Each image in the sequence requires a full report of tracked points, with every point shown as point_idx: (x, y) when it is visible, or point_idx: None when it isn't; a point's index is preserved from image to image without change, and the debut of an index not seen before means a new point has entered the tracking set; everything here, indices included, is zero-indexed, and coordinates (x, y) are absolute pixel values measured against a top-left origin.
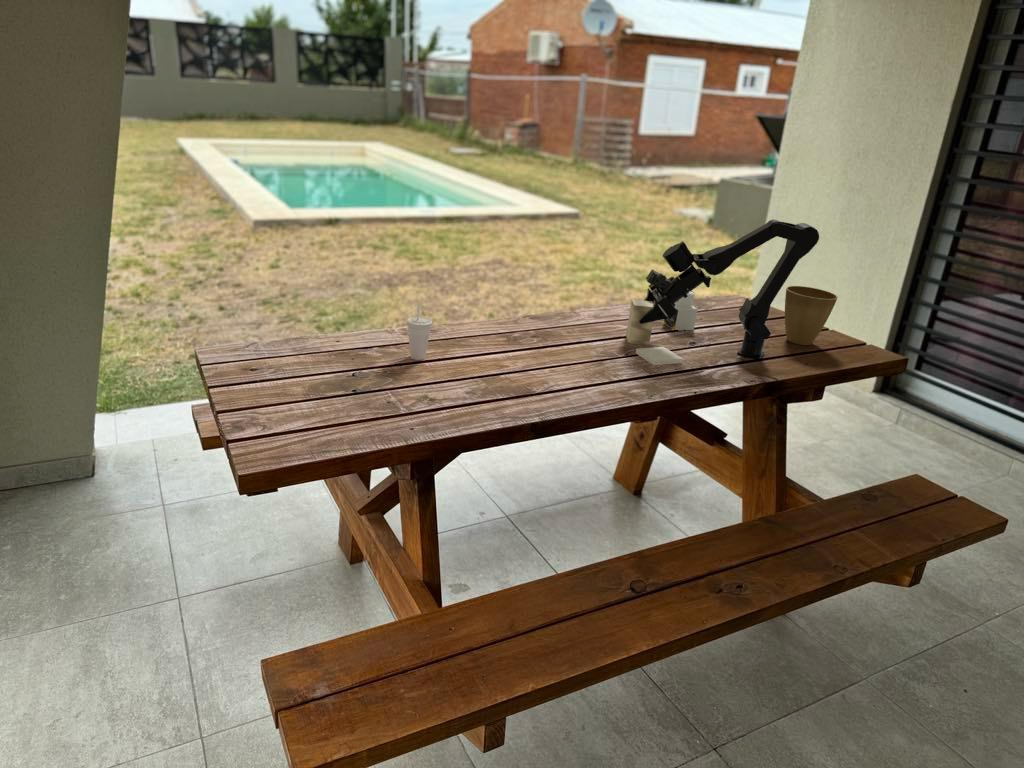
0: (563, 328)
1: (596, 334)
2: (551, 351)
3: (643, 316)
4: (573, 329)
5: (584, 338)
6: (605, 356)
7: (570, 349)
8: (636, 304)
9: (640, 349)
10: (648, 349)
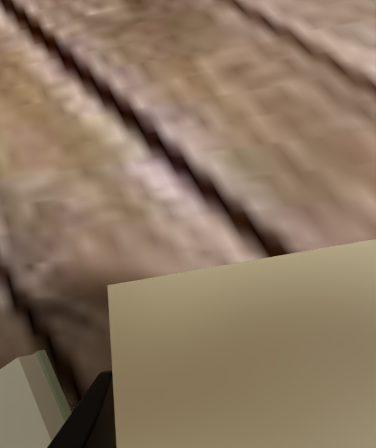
0: (275, 47)
1: (273, 160)
2: (15, 65)
3: (83, 426)
4: (286, 76)
5: (193, 127)
6: (8, 225)
7: (50, 107)
8: (165, 317)
9: (8, 381)
10: (21, 434)
